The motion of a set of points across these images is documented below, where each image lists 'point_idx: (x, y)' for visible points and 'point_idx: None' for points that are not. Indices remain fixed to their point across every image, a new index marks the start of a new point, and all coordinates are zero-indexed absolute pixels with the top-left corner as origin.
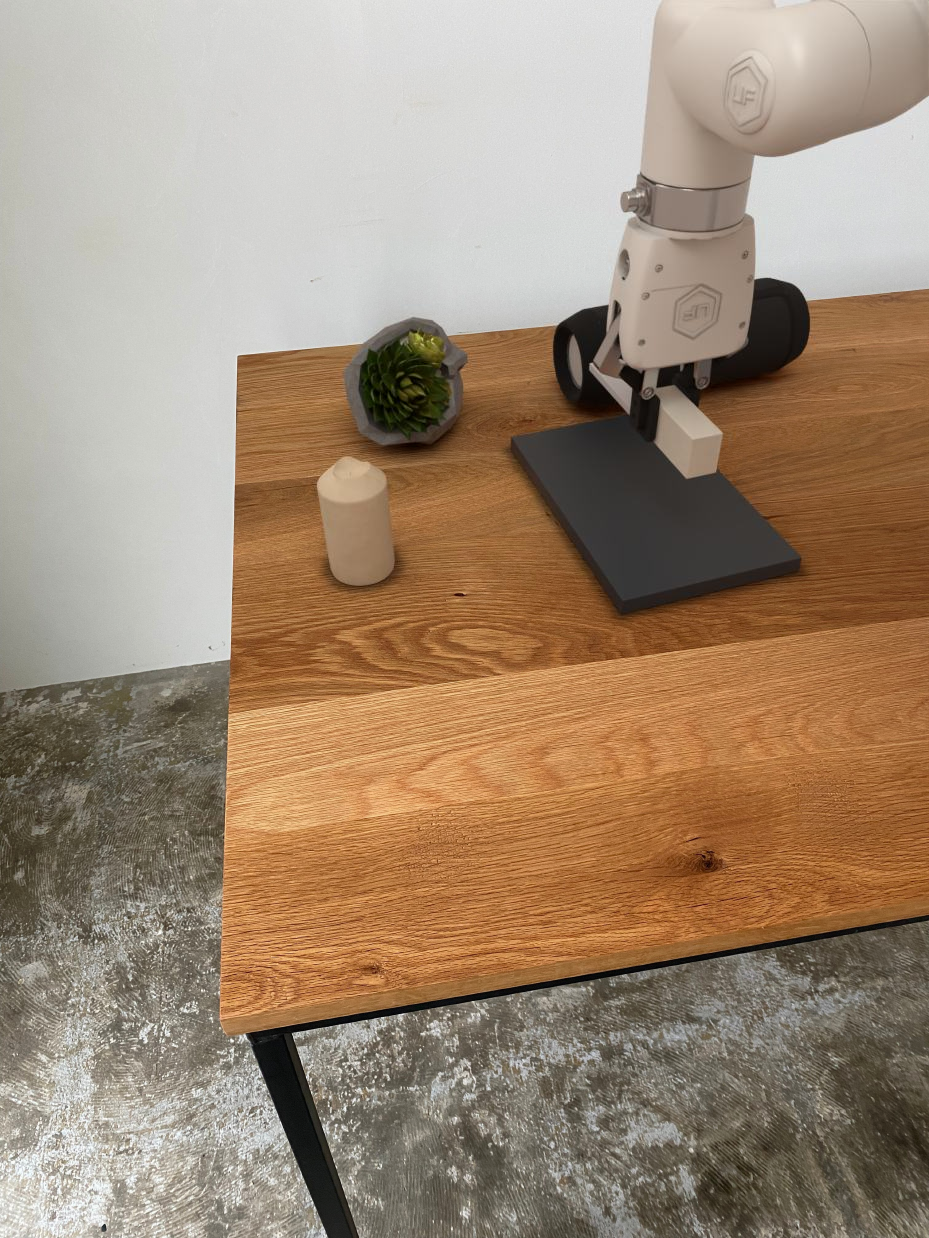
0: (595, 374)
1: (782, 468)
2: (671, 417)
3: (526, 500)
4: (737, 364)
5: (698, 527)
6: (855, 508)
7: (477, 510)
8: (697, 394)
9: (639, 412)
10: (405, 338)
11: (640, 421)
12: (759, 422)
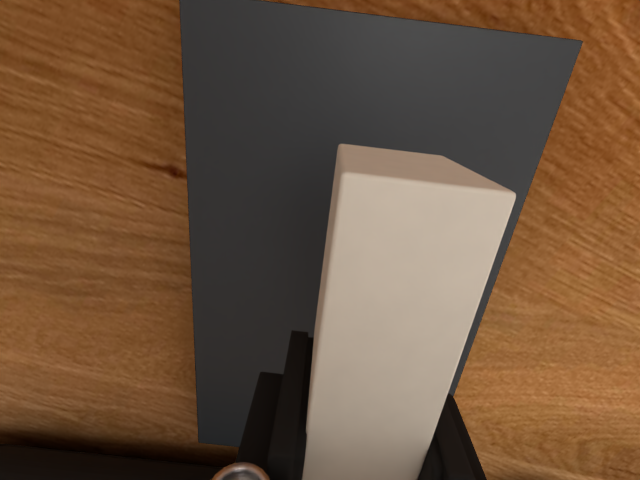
0: None
1: (82, 267)
2: (453, 374)
3: (476, 359)
4: (40, 477)
5: (312, 174)
6: (5, 122)
7: (549, 368)
8: (273, 444)
9: (471, 444)
10: None
11: (452, 412)
12: (67, 367)
